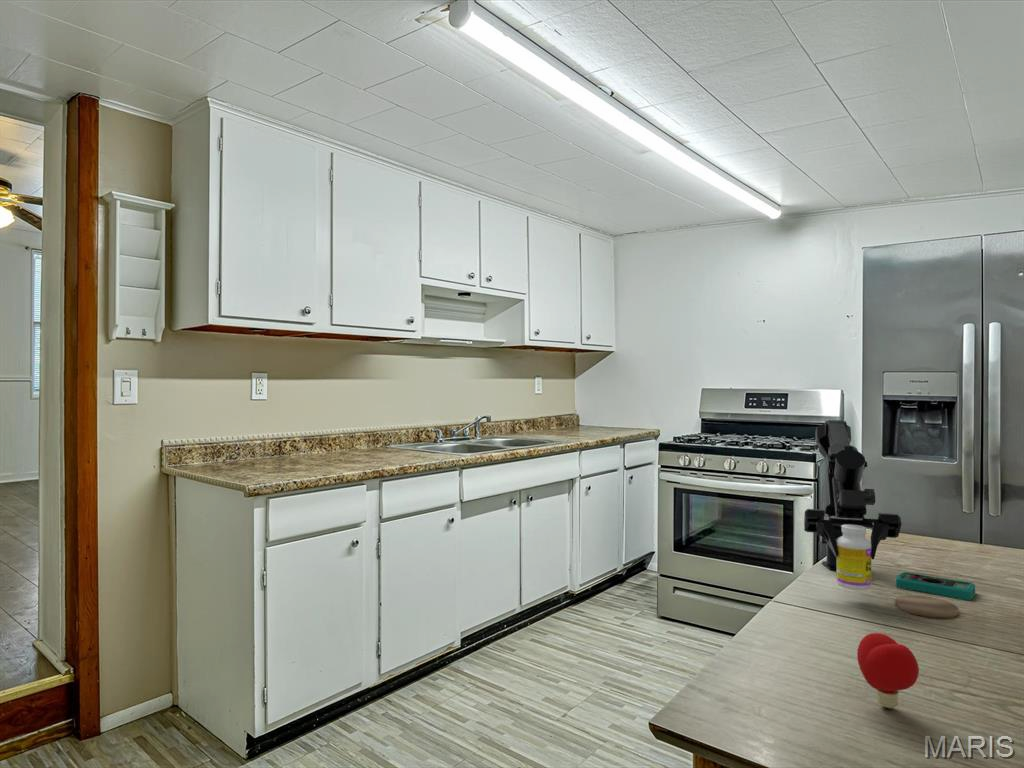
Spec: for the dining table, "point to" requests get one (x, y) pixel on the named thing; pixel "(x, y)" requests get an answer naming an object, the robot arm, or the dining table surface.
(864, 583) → the supplement bottle
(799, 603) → the dining table surface
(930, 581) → the digital multimeter
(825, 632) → the dining table surface
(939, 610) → the coaster
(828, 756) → the dining table surface
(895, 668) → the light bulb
